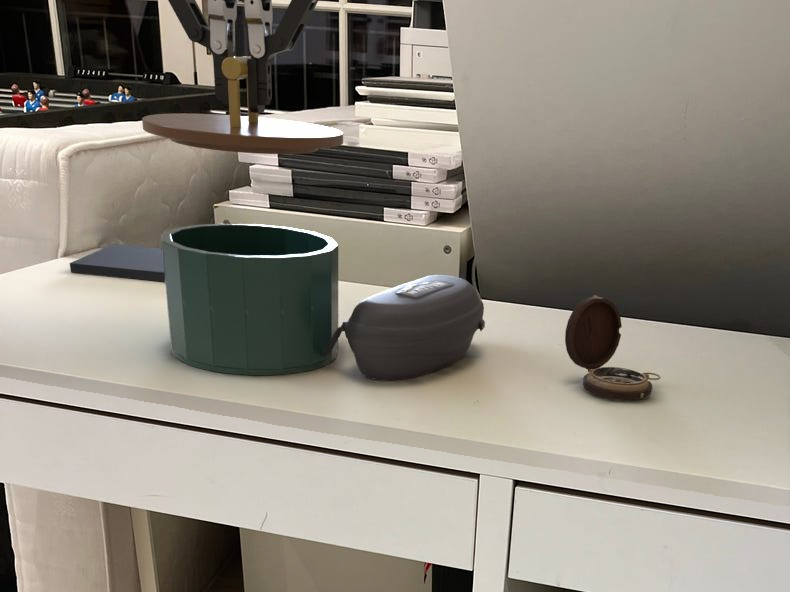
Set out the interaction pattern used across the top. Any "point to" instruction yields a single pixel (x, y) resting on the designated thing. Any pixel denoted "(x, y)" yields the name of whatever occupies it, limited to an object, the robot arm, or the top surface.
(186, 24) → the robot arm
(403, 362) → the glasses case
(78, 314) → the top surface
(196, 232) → the toy tin
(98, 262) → the mat
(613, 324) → the compass
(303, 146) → the lid
